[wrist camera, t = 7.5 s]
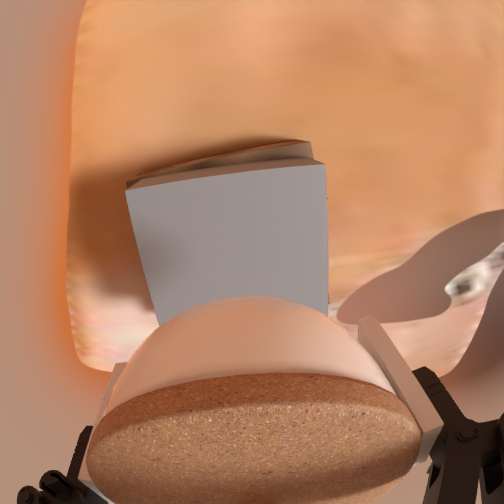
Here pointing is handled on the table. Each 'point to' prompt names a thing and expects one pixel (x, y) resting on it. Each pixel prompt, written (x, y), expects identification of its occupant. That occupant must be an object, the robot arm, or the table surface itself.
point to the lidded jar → (251, 413)
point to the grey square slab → (233, 234)
